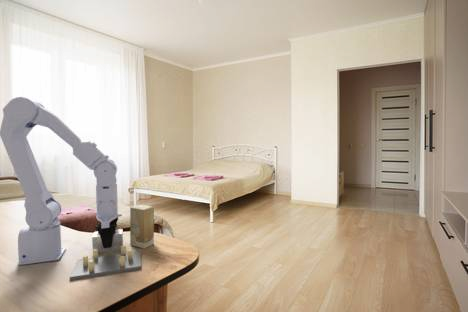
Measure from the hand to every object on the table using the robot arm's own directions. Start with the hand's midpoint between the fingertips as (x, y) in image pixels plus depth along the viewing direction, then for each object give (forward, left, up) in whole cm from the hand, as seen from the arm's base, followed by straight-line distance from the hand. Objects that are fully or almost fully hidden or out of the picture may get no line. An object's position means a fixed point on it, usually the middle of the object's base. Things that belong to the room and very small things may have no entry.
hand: (108, 244), depth 82 cm
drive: (0, 0, -1) cm, 1 cm away
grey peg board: (+1, -12, -1) cm, 12 cm away
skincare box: (+10, 0, -2) cm, 10 cm away
